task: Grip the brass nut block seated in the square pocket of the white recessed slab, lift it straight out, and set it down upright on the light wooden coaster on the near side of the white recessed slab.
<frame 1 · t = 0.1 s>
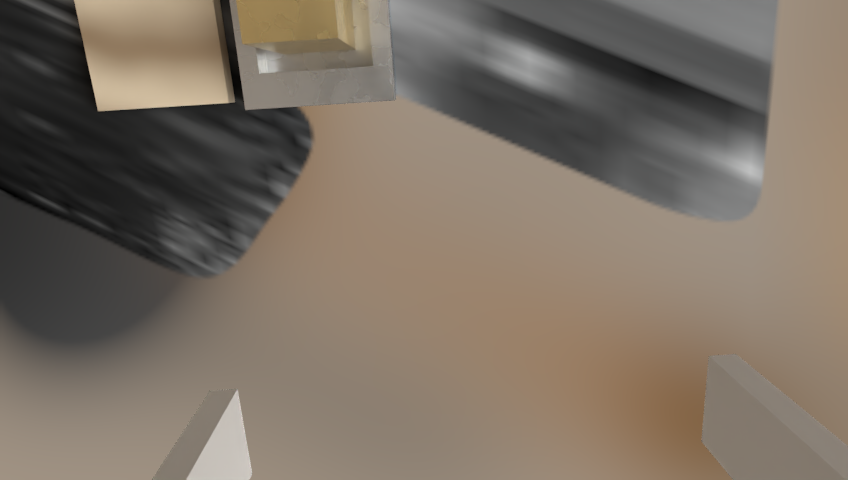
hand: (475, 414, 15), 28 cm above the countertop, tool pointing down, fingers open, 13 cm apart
nut block: (315, 13, 38), resting on white recessed slab
coaster: (160, 39, 38), on the countertop
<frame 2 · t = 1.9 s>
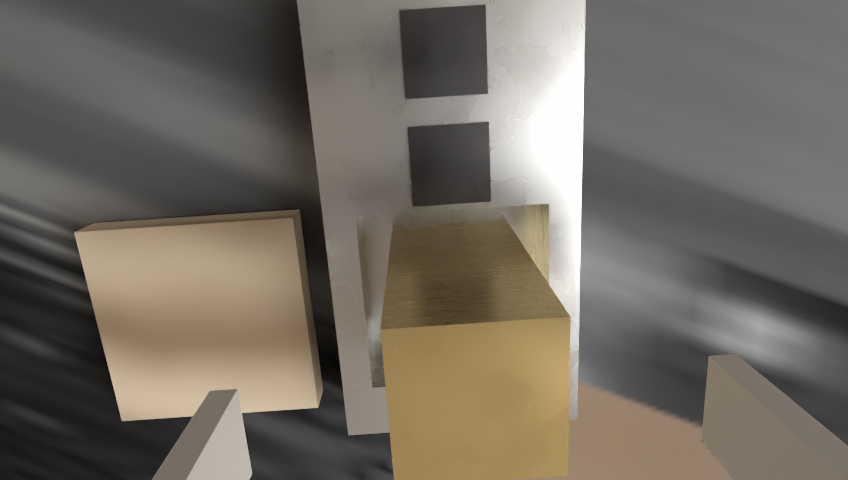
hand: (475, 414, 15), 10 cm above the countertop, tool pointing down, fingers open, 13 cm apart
white recessed slab: (448, 210, 24), on the countertop
nut block: (452, 278, 25), resting on white recessed slab
coaster: (214, 310, 25), on the countertop
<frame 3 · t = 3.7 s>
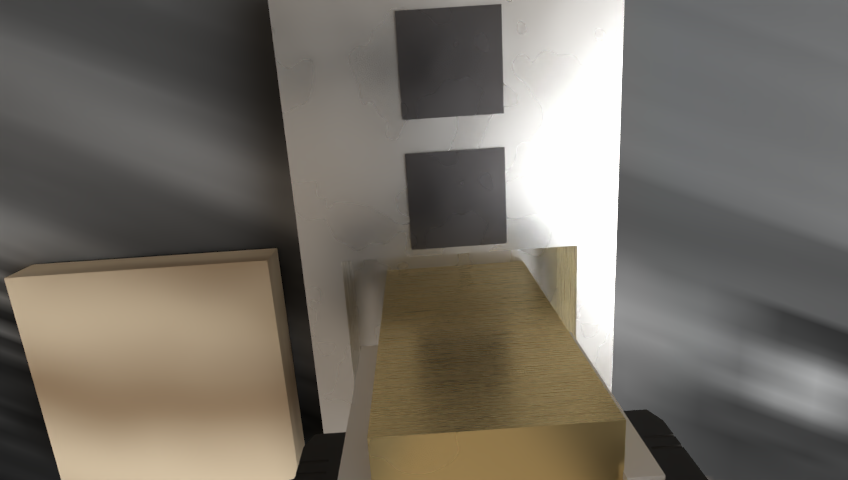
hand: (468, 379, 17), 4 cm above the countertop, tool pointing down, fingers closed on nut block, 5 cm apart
white recessed slab: (453, 249, 21), on the countertop
nut block: (458, 328, 21), point 1 cm above the countertop, touching gripper, white recessed slab
coaster: (177, 366, 22), on the countertop
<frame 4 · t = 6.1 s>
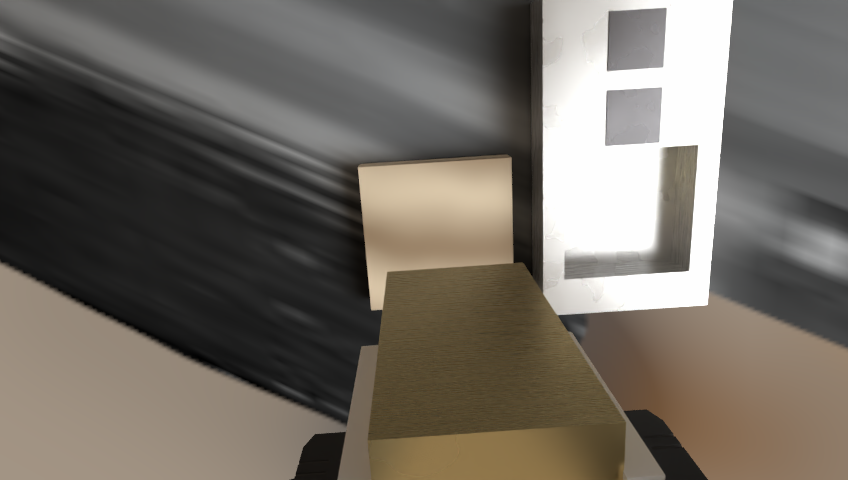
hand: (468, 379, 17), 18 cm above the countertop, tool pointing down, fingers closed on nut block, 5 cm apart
white recessed slab: (612, 155, 34), on the countertop
nut block: (458, 329, 21), point 15 cm above the countertop, touching gripper
coaster: (437, 230, 35), on the countertop
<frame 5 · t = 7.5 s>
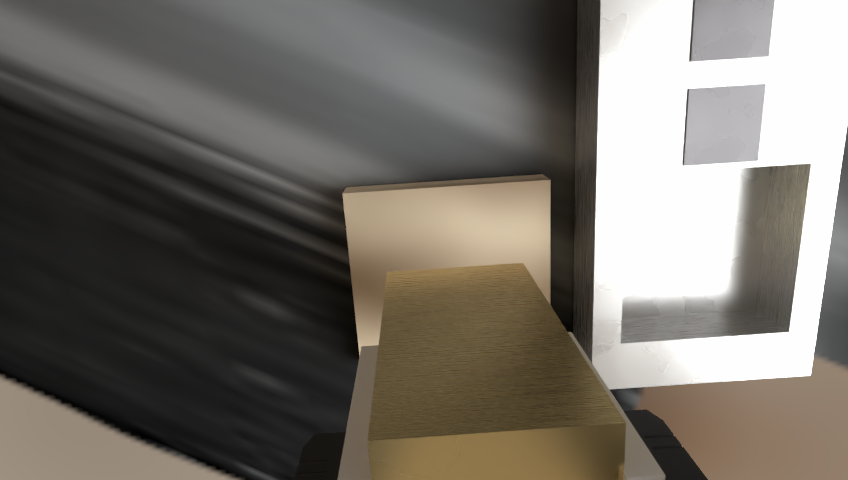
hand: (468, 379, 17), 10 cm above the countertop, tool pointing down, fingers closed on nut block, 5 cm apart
white recessed slab: (683, 175, 25), on the countertop
nut block: (458, 329, 21), point 6 cm above the countertop, touching gripper
coaster: (449, 273, 27), on the countertop
when the fingers open (7 cm above the countertop, at t = 8.8 s): nut block drops 1 cm, resting on coaster.
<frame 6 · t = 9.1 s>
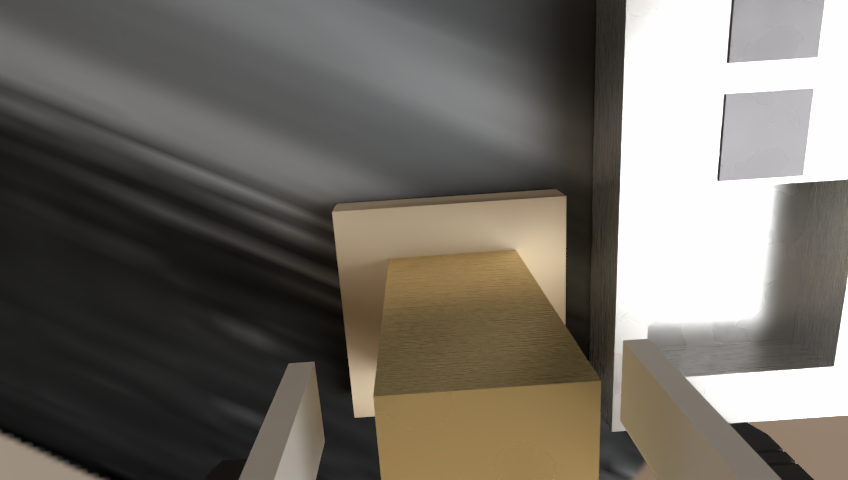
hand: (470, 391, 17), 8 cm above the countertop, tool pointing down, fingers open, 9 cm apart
white recessed slab: (712, 190, 23), on the countertop
nut block: (455, 312, 22), point 1 cm above the countertop, touching coaster
coaster: (452, 298, 24), on the countertop
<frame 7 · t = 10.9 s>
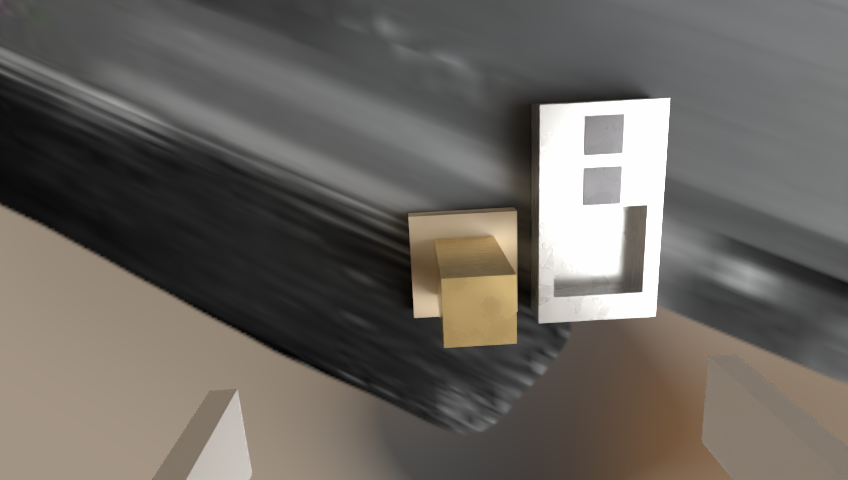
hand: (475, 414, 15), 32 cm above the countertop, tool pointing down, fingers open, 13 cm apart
white recessed slab: (589, 208, 47), on the countertop
nut block: (464, 265, 47), point 1 cm above the countertop, touching coaster
coaster: (462, 260, 48), on the countertop
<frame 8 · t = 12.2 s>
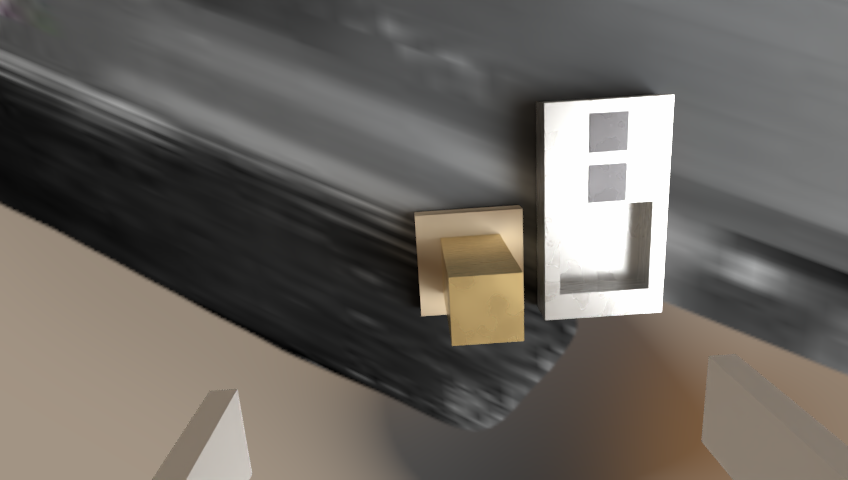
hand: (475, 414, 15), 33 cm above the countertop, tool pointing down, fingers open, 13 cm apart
white recessed slab: (594, 205, 48), on the countertop
nut block: (471, 263, 47), point 1 cm above the countertop, touching coaster
coaster: (468, 258, 49), on the countertop
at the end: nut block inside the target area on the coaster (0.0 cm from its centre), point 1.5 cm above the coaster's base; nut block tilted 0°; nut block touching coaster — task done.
